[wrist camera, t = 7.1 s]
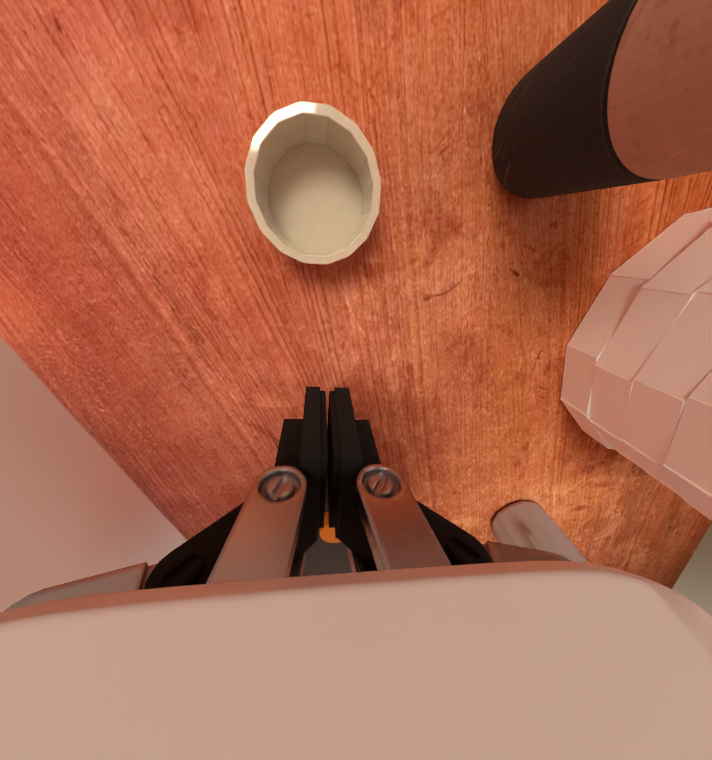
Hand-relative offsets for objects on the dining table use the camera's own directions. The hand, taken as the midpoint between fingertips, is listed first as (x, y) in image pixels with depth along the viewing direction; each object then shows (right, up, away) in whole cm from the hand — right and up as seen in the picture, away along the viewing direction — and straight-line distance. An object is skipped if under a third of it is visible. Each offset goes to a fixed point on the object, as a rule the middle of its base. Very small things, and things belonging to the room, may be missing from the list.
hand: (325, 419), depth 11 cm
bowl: (-1, +14, +8) cm, 16 cm away
